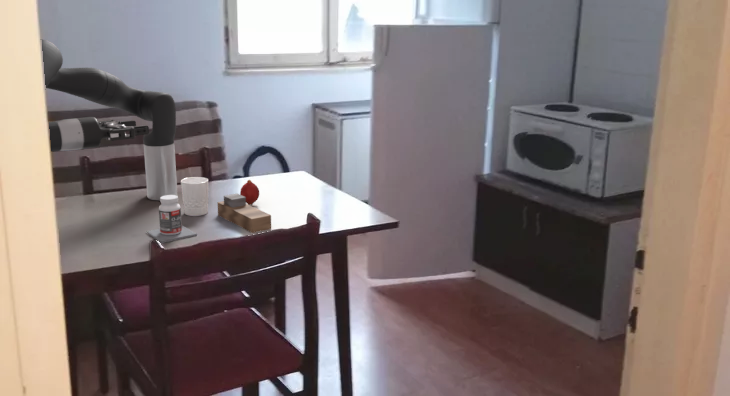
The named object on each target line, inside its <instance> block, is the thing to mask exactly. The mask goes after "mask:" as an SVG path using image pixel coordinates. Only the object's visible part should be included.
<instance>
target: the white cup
mask: <svg viewBox="0 0 730 396" xmlns="http://www.w3.org/2000/svg"><path fill="white" fill-rule="evenodd" d="M180 187H181V199H182V203H183V209H184V215H187V216H190V217H201V216H204V215H207V214H209V211H208V210H209V178H207V177H203V176H202V177H201V176H191V177H185V178H182V179H181V180H180Z"/></svg>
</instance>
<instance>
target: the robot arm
mask: <svg viewBox="0 0 730 396" xmlns="http://www.w3.org/2000/svg"><path fill="white" fill-rule="evenodd" d="M41 40H42V51H43V62H44V74H45V85H46V89H49V90H53V91H58V92H62V93H65V94H69V95H72V96H75V97H78V98H81V99H83V100H85V101H86V100H87V101H89V102H92V103H95V104H97V105H101V106H105V107H109V108H115V109H119V110H122V111H124V112H127V113H129V114H131V115H133V116H135V117H137V118H140V119H142V120H143V121H148V122H152V125H151V126H152V129H151V130H150V127H149V125H147V124H145V125H144V124H143V125H137V122H136V121H135V120H133V119H132V120H123V121H120V120H114V119H110V120H103V121H98V120H97V118H96V117H94V116H87V117H77V118H67V119H61V120H56V121H48V122H49V129H50V140H51V151H52V152H51V153H53V152H63V151H64V152H65V151H69V152H70V151H77V150H85V149H96V148H99V147H100V146H101V143H102V139H106V141H112V142H114V141H121V140H122V141H123V140H133V139H135V138H136V136H137V137H138V136H143V137H142V142H143V154H144V168H145V182H146V196H147V199H149V200H151V201H160V197H162V196H165V195H176V196H178V181H177V168H176V165H177V163H176V151H175V149H176V148H175V136H176V132H177V110H176V109H177V108H176V103H175V100H174V98H173V96H172V94H169V93H167V92H163V91H153V90H144V89H138V88H135V87H133V86H129V85H127V84H126V83H125V82H124V81H123V80H121V79H120V78H119V77H117V76H116V75H114V74H112V73H109V72H107V71H104V70H102V69H99V68H95V67H70V68H69V67H67V68H66V67H65V68H64V67H63V62H64V58H63V55H62V53H61V50H60V49H59V48H58V46H56V44H54V43H53V42H51V41H49V40H47V39H41ZM126 132H128V133H129V134H128V133H126Z"/></svg>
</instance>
